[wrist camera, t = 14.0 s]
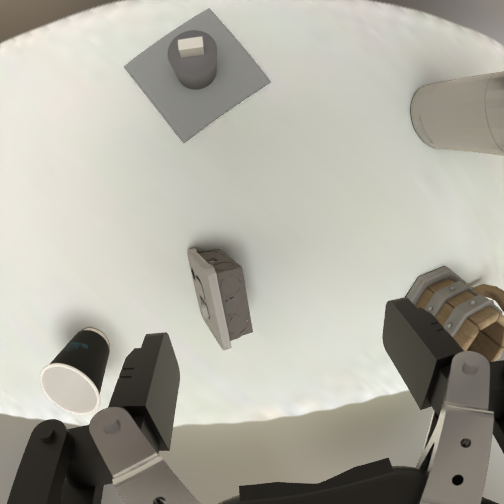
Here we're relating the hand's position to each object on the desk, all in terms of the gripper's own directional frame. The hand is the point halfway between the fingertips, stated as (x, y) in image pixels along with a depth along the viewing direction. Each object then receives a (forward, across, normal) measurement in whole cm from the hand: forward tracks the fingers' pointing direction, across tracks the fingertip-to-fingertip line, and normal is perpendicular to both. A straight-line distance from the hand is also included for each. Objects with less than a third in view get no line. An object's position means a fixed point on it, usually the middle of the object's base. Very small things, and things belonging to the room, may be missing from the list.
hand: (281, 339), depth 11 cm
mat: (+28, +4, -14) cm, 32 cm away
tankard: (+28, -30, +21) cm, 47 cm away
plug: (+28, +4, -14) cm, 32 cm away
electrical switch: (+27, +5, +10) cm, 29 cm away
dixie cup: (+25, +24, +17) cm, 39 cm away
